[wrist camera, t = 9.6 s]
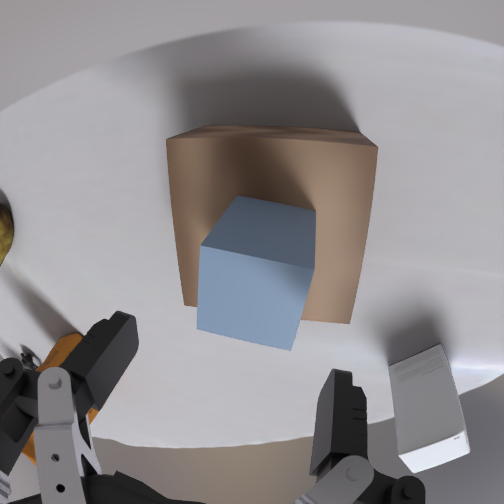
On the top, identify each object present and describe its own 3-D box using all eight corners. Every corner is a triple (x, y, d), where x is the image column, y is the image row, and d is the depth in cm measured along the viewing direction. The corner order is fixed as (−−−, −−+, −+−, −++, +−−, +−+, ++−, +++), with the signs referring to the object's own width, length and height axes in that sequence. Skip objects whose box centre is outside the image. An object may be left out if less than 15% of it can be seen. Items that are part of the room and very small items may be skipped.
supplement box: (386, 365, 34) (396, 455, 23) (441, 341, 31) (467, 429, 20) (402, 394, 36) (411, 475, 25) (451, 374, 33) (471, 453, 22)
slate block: (316, 211, 19) (314, 269, 13) (299, 278, 22) (290, 350, 16) (237, 195, 20) (200, 245, 14) (229, 263, 22) (196, 328, 16)
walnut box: (360, 132, 24) (378, 147, 17) (344, 269, 30) (349, 323, 23) (206, 125, 26) (166, 139, 19) (213, 257, 32) (184, 305, 25)
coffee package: (96, 385, 50) (40, 474, 31) (53, 335, 46) (-17, 423, 27) (128, 383, 47) (69, 488, 28) (81, 327, 42) (0, 432, 23)
